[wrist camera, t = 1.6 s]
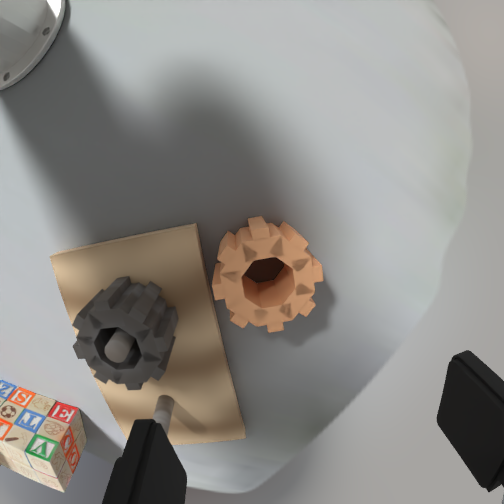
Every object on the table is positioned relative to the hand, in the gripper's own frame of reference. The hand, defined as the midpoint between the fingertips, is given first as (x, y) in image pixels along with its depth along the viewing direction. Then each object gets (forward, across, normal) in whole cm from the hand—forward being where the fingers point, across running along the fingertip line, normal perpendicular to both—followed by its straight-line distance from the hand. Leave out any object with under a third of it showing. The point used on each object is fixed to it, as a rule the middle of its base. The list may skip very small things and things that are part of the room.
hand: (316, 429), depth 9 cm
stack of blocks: (+18, +34, +13) cm, 41 cm away
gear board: (+18, +11, +7) cm, 22 cm away
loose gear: (+18, 0, 0) cm, 18 cm away
